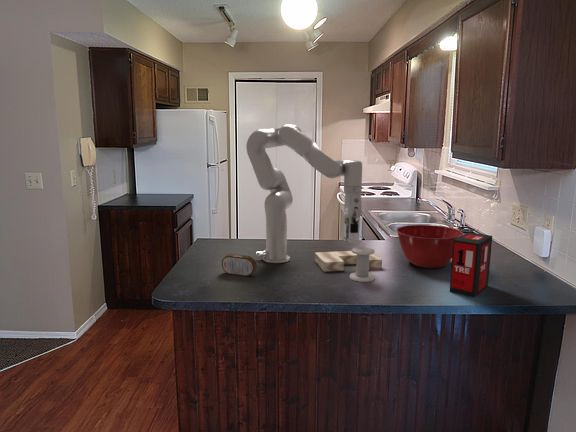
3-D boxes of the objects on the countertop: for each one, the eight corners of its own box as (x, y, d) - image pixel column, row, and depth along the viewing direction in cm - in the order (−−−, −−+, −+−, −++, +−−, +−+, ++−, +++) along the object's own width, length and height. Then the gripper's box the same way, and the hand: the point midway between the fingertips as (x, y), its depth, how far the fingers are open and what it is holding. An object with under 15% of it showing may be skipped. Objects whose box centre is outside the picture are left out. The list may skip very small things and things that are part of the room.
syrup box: (343, 239, 199) (344, 206, 197) (356, 239, 200) (357, 206, 197) (346, 242, 194) (346, 209, 191) (359, 242, 194) (360, 209, 192)
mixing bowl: (383, 264, 204) (384, 230, 201) (413, 252, 224) (415, 221, 221) (443, 278, 185) (446, 241, 182) (470, 263, 205) (473, 230, 203)
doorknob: (354, 282, 179) (355, 253, 176) (346, 274, 188) (347, 247, 186) (378, 281, 180) (379, 252, 178) (369, 273, 190) (370, 246, 188)
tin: (257, 275, 187) (256, 256, 185) (254, 278, 184) (253, 258, 182) (224, 271, 192) (223, 252, 190) (220, 274, 189) (220, 254, 187)
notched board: (324, 271, 193) (324, 262, 192) (314, 260, 208) (314, 252, 207) (381, 268, 197) (382, 259, 197) (368, 258, 213) (368, 250, 212)
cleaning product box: (473, 297, 164) (478, 243, 160) (449, 291, 169) (453, 239, 166) (487, 285, 176) (492, 235, 172) (464, 280, 182) (468, 232, 178)
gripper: (368, 192, 185) (366, 235, 188) (354, 187, 202) (353, 226, 205) (350, 192, 184) (349, 235, 187) (338, 187, 200) (337, 227, 204)
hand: (351, 230), depth 196 cm, fingers closed on syrup box, 6 cm apart
